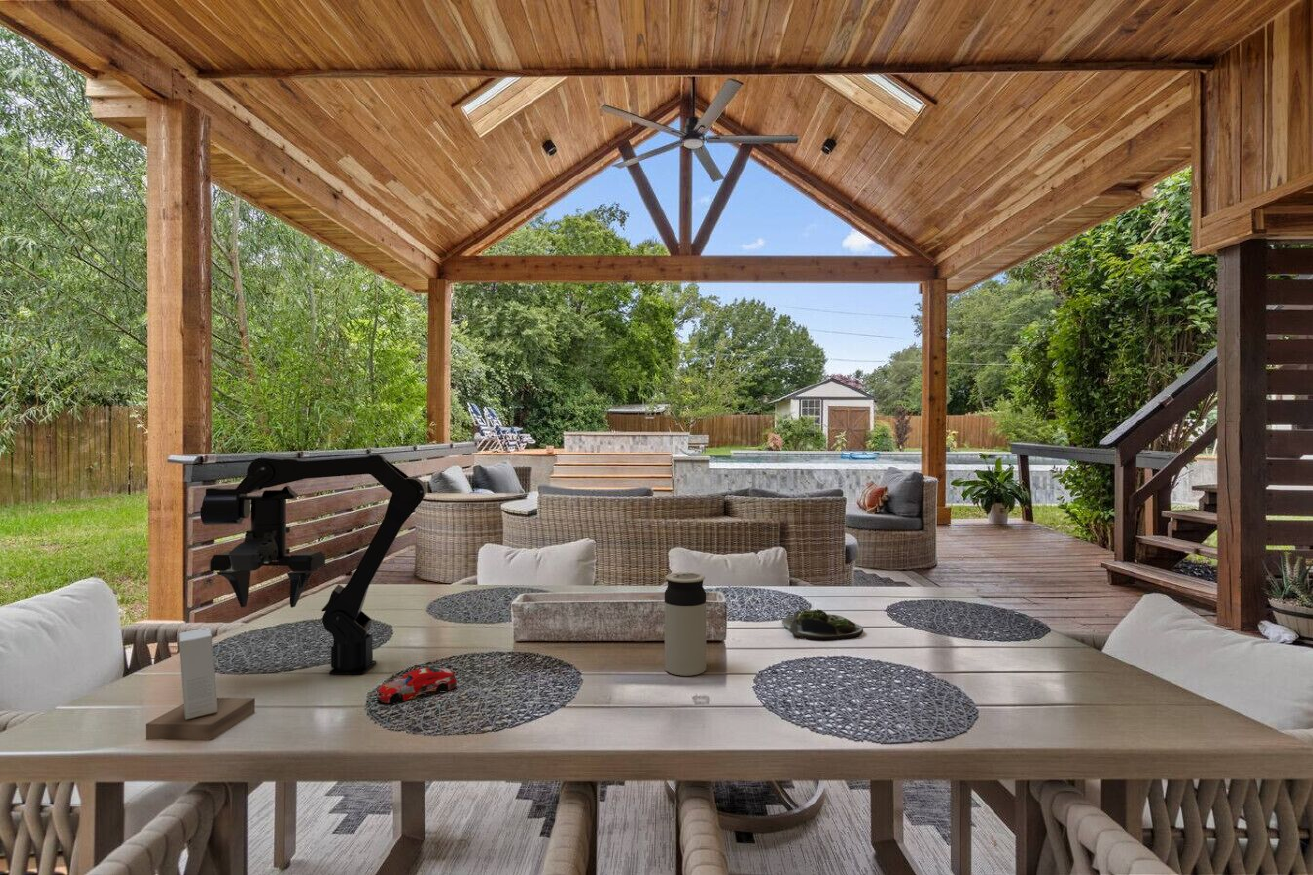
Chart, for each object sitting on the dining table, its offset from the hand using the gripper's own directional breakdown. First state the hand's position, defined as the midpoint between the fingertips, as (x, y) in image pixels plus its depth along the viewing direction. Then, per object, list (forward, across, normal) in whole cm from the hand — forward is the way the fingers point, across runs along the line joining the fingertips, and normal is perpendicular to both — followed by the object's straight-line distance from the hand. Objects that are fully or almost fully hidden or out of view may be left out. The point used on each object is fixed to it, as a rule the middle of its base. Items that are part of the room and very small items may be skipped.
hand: (268, 606), depth 125 cm
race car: (+13, +31, -8) cm, 35 cm away
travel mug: (+13, +78, +4) cm, 79 cm away
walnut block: (+14, +2, -21) cm, 25 cm away
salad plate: (+13, +110, +30) cm, 115 cm away
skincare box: (+11, +2, -21) cm, 24 cm away
